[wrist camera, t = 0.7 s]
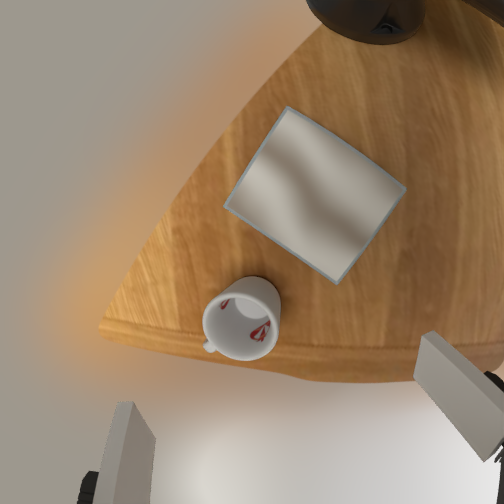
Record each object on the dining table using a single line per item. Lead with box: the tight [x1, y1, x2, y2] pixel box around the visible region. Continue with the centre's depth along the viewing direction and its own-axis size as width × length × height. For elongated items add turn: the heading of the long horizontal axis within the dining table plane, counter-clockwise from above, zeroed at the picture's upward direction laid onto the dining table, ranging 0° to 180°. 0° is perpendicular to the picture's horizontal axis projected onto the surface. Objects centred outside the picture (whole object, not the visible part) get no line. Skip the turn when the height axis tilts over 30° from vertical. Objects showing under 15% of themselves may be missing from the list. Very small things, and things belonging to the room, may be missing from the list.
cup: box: [202, 276, 281, 361], centre depth 33 cm, size 11×8×8 cm
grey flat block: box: [223, 106, 407, 285], centre depth 29 cm, size 12×14×5 cm
